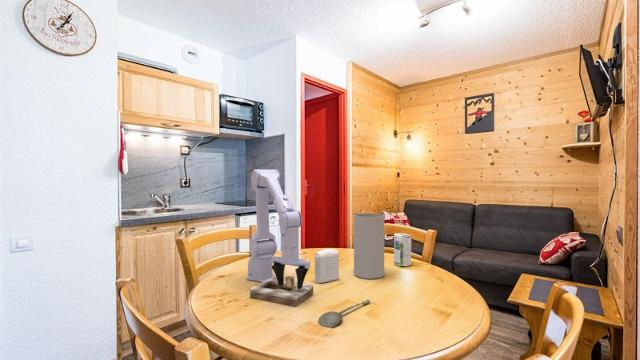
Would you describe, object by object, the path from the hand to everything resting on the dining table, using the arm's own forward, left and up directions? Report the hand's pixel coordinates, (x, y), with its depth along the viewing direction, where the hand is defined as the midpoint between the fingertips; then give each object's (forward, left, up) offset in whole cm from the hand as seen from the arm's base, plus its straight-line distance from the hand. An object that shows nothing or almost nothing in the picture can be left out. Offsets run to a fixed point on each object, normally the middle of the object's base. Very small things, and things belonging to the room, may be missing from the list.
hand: (290, 286), depth 105 cm
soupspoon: (+22, -4, -4) cm, 23 cm away
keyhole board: (-3, 0, -4) cm, 5 cm away
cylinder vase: (+17, +35, -4) cm, 39 cm away
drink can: (+27, +55, -4) cm, 62 cm away
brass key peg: (0, 0, -3) cm, 3 cm away
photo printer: (+4, +21, -4) cm, 22 cm away
